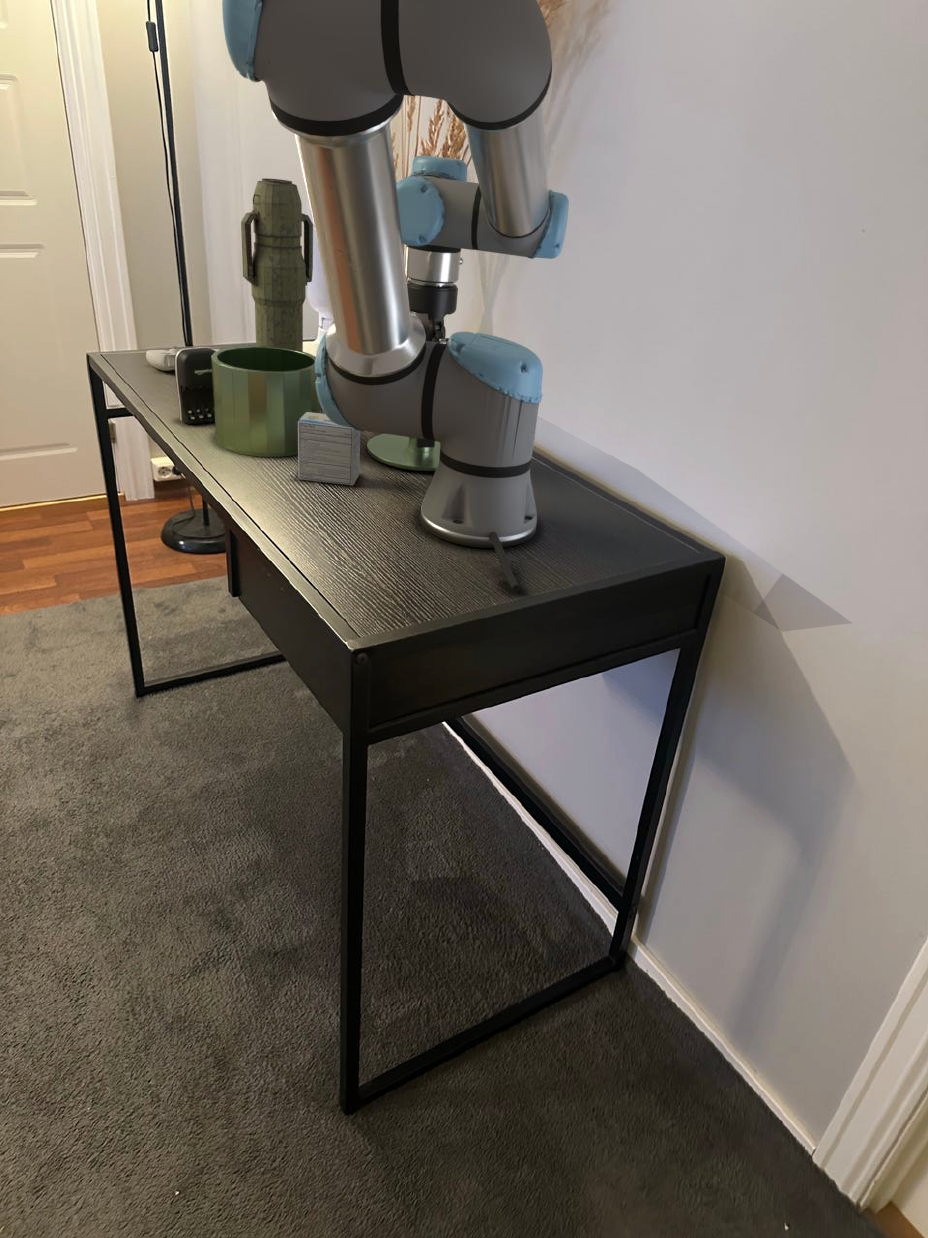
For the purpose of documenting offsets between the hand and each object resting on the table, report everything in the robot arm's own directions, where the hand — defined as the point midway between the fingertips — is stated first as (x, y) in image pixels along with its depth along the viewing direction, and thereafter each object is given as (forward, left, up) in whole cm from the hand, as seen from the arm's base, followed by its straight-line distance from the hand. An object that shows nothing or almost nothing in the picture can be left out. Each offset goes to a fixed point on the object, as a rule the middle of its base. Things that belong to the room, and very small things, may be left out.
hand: (420, 441), depth 129 cm
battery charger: (+18, +31, -3) cm, 36 cm away
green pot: (+9, +22, -2) cm, 24 cm away
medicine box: (-8, +16, -3) cm, 18 cm away
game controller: (+51, +31, -3) cm, 60 cm away
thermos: (+29, +17, -3) cm, 34 cm away
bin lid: (0, 0, -2) cm, 2 cm away
